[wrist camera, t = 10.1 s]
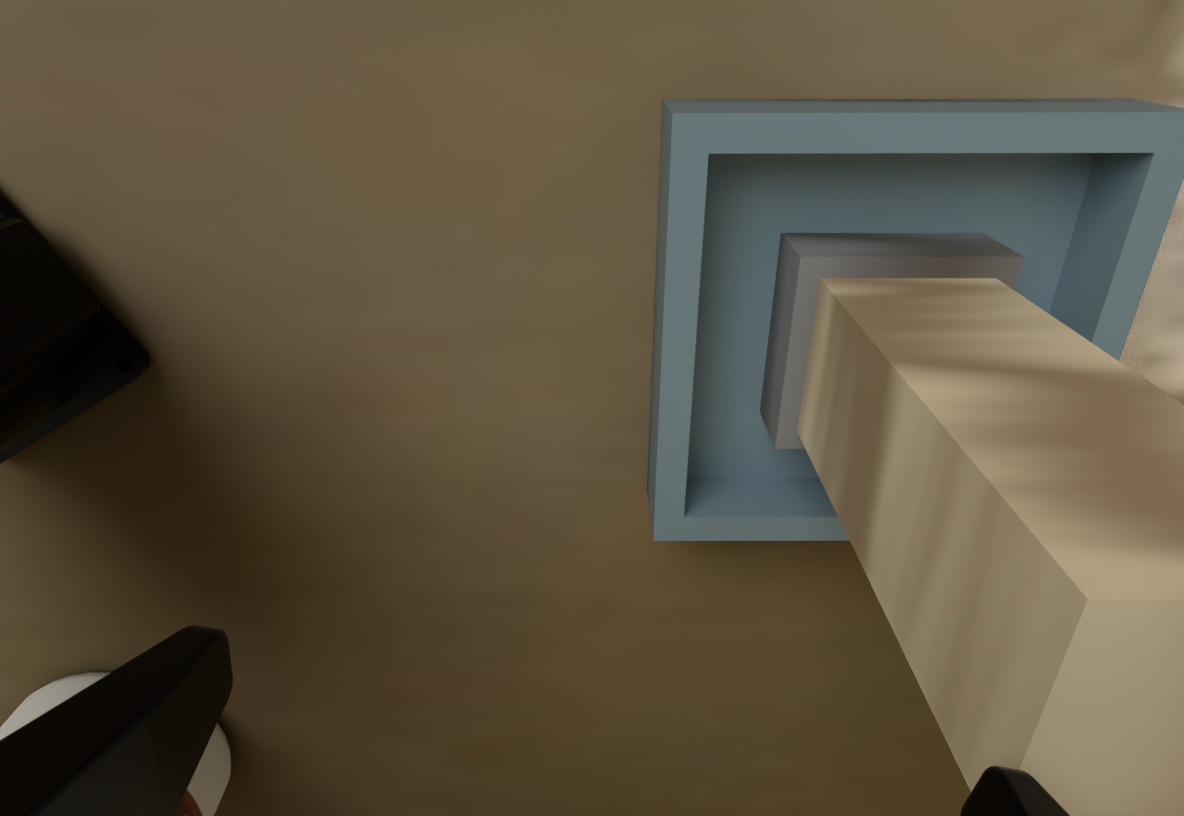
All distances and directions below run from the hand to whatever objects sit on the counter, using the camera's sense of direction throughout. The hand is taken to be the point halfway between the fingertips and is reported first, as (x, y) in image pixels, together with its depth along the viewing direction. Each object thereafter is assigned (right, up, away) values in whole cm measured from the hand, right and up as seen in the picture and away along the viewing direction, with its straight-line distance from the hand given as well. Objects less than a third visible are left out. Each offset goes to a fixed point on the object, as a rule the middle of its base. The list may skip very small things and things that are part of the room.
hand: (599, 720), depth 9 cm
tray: (+7, +6, +12) cm, 15 cm away
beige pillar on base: (+7, +6, +11) cm, 14 cm away
